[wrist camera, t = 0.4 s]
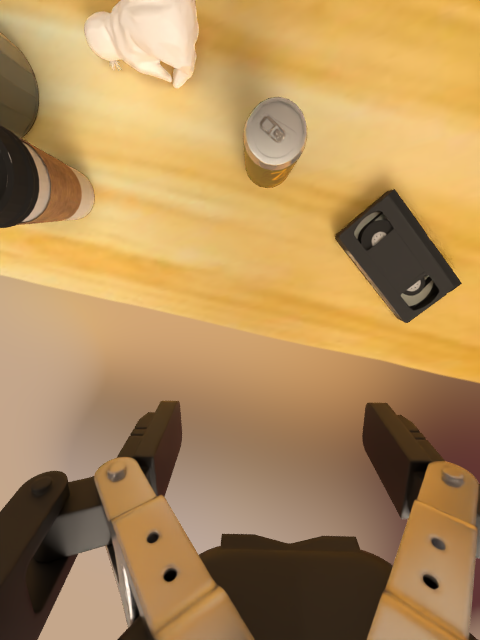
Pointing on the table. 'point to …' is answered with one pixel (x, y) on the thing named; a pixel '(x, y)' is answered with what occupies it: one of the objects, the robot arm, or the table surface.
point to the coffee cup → (38, 185)
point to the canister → (16, 89)
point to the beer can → (273, 140)
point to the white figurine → (147, 36)
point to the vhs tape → (397, 257)
